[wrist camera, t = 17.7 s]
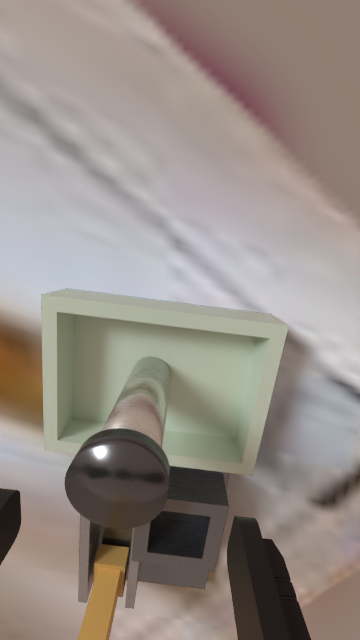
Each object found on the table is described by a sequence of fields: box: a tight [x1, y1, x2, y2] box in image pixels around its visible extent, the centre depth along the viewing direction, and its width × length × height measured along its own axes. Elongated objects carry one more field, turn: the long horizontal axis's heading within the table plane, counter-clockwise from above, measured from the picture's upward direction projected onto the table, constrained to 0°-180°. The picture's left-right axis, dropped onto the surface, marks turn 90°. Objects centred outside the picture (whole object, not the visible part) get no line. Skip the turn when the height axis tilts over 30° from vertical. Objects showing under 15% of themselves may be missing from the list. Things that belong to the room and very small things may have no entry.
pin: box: [65, 357, 172, 529], centre depth 15 cm, size 4×4×10 cm
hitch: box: [78, 466, 229, 609], centre depth 22 cm, size 13×15×4 cm
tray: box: [41, 289, 289, 476], centre depth 19 cm, size 16×12×3 cm
